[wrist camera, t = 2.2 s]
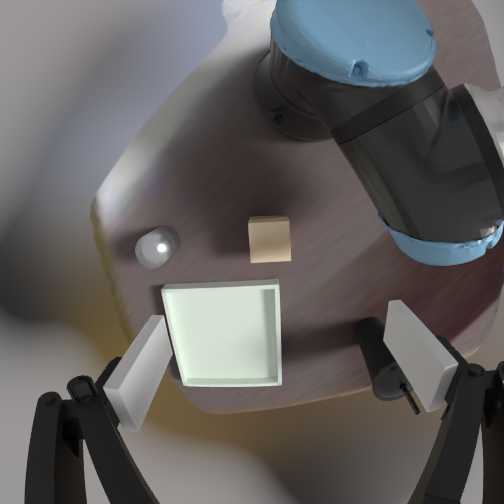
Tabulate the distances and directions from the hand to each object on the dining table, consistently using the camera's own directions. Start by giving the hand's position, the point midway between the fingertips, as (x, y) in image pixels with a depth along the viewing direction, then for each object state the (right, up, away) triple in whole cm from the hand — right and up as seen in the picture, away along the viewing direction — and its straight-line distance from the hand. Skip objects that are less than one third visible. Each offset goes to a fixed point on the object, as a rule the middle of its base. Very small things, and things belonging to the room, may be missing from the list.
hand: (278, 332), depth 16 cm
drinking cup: (+18, -8, +28) cm, 35 cm away
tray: (-6, -9, +29) cm, 31 cm away
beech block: (+1, +7, +25) cm, 26 cm away
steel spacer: (-14, +6, +25) cm, 30 cm away
